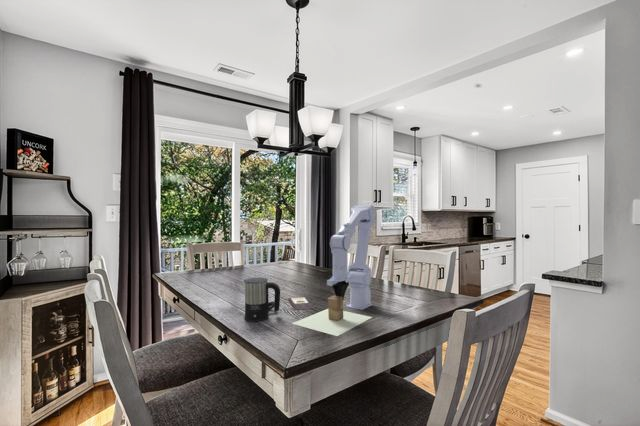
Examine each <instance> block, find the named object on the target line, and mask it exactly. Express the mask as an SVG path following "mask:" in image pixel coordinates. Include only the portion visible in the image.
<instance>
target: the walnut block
mask: <svg viewBox="0 0 640 426" xmlns="http://www.w3.org/2000/svg"><path fill="white" fill-rule="evenodd" d="M327 309H328V314H329V319H330V320H334V321H339V320H340V319H342V318H343V311H344V300H343V298H342V297H340V296H336V295H332V296H330V297H328V298H327Z"/></svg>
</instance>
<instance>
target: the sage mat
mask: <svg viewBox="0 0 640 426" xmlns="http://www.w3.org/2000/svg"><path fill="white" fill-rule="evenodd" d="M372 318H373V317H372V316H369V315H364V314H359V313H355V312H350V311H345V310H343V318H342V319H340V320H339V321H334V320H330V319H329V314H328V308H326V309H325V310H321V311H319V312H316V313H314V314H311V315H309V316H307V317H303V318H301V319H299V320H296V321H294V322H292V323H291V324H292V325H295V326H299V327H302V328H305V329H310V330H313V331H317V332H321V333H325V334H327V335H331V336H336V337H338V336H340V335H342V334H344V333H347V332H348V331H350V330H352V329H354V328H355V327H357V326H359V325H361V324H363V323H365V322H366V321H368V320H370V319H372Z"/></svg>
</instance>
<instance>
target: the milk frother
mask: <svg viewBox="0 0 640 426" xmlns="http://www.w3.org/2000/svg"><path fill="white" fill-rule="evenodd" d="M243 282H244V317H243V319H244V320H245V321H247V322H261V321H265V320H267V319H268V318H269V314H270V313H269V312H270V311H271V310H273V309H274V312H278V311H279V310H280V308H281V307H280V305H281V303H280V302H281V288H280V286H279V285H278V284H277V283H276V282H272V281H271V282H269V278H268V277H260V276H259V277H258V276H257V277H249V278H245V279H244V280H243ZM269 289H271V290H273V291H274V300H273V301H270V302H269V299H270V297H269Z"/></svg>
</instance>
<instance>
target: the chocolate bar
mask: <svg viewBox="0 0 640 426" xmlns="http://www.w3.org/2000/svg"><path fill="white" fill-rule="evenodd" d="M288 301H289V304H290V306H291V307H292V309H293V310H294V311H301V310H303V311H304V310H312V309H313V310H316V309H317V307H316V306H315V305H314V304H313V303H312V301H311V300H310V299H309V297H307V296H306V297H305V296H304V297H289V298H288Z"/></svg>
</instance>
